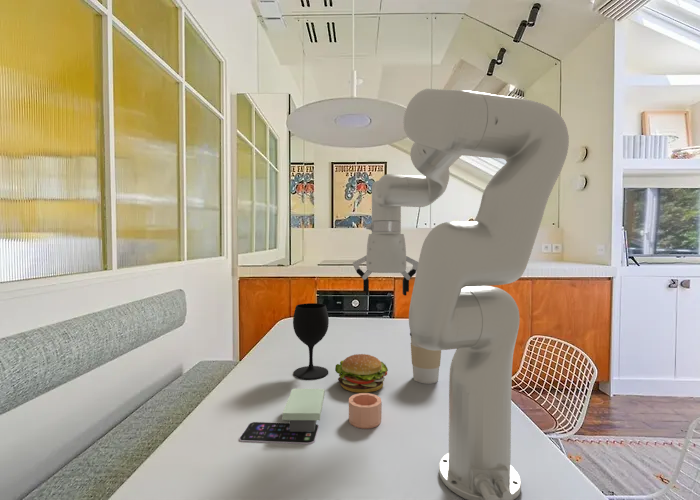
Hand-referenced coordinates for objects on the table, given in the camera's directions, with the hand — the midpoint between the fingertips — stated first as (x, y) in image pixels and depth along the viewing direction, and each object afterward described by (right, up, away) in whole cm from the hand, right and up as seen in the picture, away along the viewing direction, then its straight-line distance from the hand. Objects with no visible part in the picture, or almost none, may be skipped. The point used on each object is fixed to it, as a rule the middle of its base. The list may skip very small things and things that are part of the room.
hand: (385, 294), depth 94 cm
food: (-6, -25, +5) cm, 26 cm away
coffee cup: (+12, -25, +8) cm, 29 cm away
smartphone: (-23, -26, -20) cm, 41 cm away
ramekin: (-6, -25, -15) cm, 30 cm away
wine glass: (-21, -25, +13) cm, 35 cm away
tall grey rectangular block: (-19, -25, -15) cm, 35 cm away
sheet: (-19, -22, -15) cm, 33 cm away
